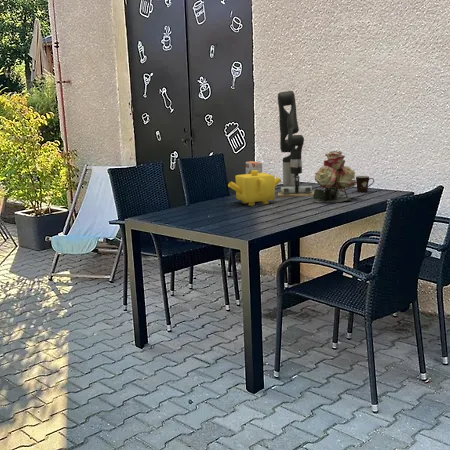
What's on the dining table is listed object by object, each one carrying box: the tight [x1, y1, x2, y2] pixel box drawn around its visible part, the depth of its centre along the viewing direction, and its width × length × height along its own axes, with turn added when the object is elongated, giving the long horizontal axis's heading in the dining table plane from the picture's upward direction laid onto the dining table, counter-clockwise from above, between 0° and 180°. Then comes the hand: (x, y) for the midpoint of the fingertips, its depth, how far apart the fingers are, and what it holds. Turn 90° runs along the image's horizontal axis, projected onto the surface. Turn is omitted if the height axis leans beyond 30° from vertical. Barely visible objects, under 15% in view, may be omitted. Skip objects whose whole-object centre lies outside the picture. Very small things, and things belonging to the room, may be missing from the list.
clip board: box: [277, 187, 314, 198], centre depth 383 cm, size 11×24×5 cm, turn 89°
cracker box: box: [245, 160, 263, 174], centre depth 399 cm, size 14×6×21 cm, turn 25°
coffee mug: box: [355, 175, 375, 194], centre depth 384 cm, size 12×9×10 cm
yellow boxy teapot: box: [227, 170, 282, 206], centre depth 361 cm, size 35×29×20 cm
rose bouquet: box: [313, 150, 357, 203], centre depth 360 cm, size 26×29×30 cm
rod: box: [280, 185, 313, 194], centre depth 383 cm, size 20×4×4 cm, turn 89°
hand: (296, 191), depth 383 cm, fingers closed on rod, 4 cm apart
